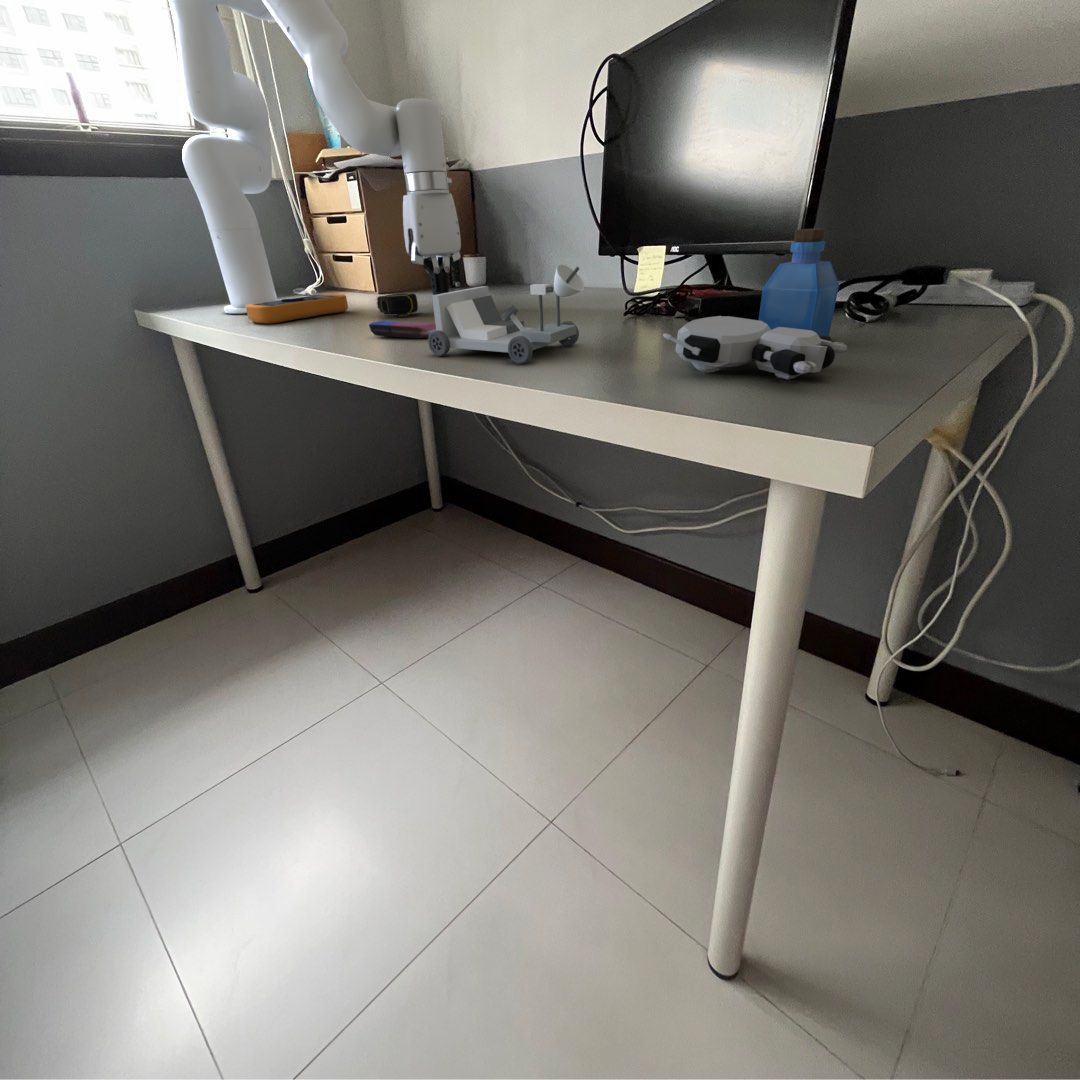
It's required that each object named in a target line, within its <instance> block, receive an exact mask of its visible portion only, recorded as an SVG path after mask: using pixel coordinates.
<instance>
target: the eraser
mask: <svg viewBox="0 0 1080 1080" xmlns="http://www.w3.org/2000/svg"><path fill="white" fill-rule="evenodd" d="M368 326H369V327H368V328H369V330H370V332H371V333H372V334H373V335H374V336H379V337H393V338H410V339H428V338H429V335H430V334H431V333H432V332H433V331H436V324H435V322H421V321H419V322H418V321H417V322H416V321H401V320H400V321H399V320H378V321H373V322H370V323H369V324H368Z"/></svg>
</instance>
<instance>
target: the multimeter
mask: <svg viewBox="0 0 1080 1080" xmlns="http://www.w3.org/2000/svg"><path fill="white" fill-rule="evenodd" d="M347 298H348V297H347V295H346V294H343V293H332V292H331V293H328V292H324V293H320V294H316V295H309V296H308V295H307V296H301V297H294V298H282V299H279V300H278V299H277V300H278V301H271V302H263V303H256V304H248V305H246V306H245V307H246V310H247V313H246V314H247V318H248V319H249V321H251V322H253V323H256V324H265V325H273V324H281V323H285V322H292V321H296V320H301V319H306V318H313V317H318V316H326V315H332V314H339V313H341V314H342V313H345V312H347V310H348V309H349V305H348V299H347Z"/></svg>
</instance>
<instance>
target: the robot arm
mask: <svg viewBox="0 0 1080 1080" xmlns="http://www.w3.org/2000/svg"><path fill="white" fill-rule="evenodd" d="M168 2H169V6H170V7H169V8H170V10H171V15H172V19H173V23H174V31H175V33H174V34H175V38H176V39H175V41H176V43H175V44H176V49H177V58H178V66H179V73H180V80H181V88H182V94H183V95H182V96H183V99H184V100H183V101H184V103H185V106H186V109H187V111H188V113H189V114H190V115H191V117H192V118H193V119H195V120H196V121H197V122H198V123H200V124H203V125H205V126H208V127H212V128H218V129H223V130H227V136H228V137H227V136H221V135H214V134H213V135H212V134H198V135H194V136H191V137H190V138H189V139H188V140H186V142H185V143H184V145H183V148H182V163H183V167H184V170H185V172H186V175H187V177H188V179H189V181H190V184H191V186H192V188H193V190H194V192H195V194H196V196H197V198H198V201H199V204H200V206H201V210H202V212H203V215H204V218H205V223H206V226H207V228H208V231H209V234H210V238H211V241H212V244H213V245H212V246H213V248H214V252H215V255H216V259H217V262H218V266H219V269H220V272H221V275H222V279H223V282H224V286H225V289H226V293H227V296H228V300H229V303H230V304H229V305H225V306H224V307H223V310H224V313H226V314H230V315H231V314H233V315H235V314H237V315H238V314H239V315H241V314H247V310H246V307H245V306H246V305H248V304H256V303H263V302H271V301H278V297H277V292H276V289H275V285H274V281H273V277H272V273H271V272H272V271H271V269H270V265H269V261H268V257H267V253H266V249H265V245H264V242H263V241H264V240H263V237H262V233H261V230H260V226H259V222H258V218H257V216H256V213H255V211H254V208H253V207H252V205H251V203H250V201H249V200H248V198H247V196H246V195H255V194H261V193H264V192H265V191H266V190H267V189H268V188H269V186H270V185H271V181H272V175H273V163H272V162H273V161H272V146H271V132H270V131H271V130H270V129H271V128H270V117H269V110H268V106H267V103H266V99H265V97H264V94H263V93H262V91H261V89H260V87H259V86H258V85H257V83H256V82H254V81H253V80H252V78H250V77H249V76H247V75H245V74H243V73H241V72H238V71H234V70H233V64H232V58H231V45H230V44H231V43H230V40H229V39H230V38H229V36H228V33H227V29H226V27H225V23H224V22H223V19H222V17H221V15H220V13H219V11H218V9H217V6H218V5H222V6H223V7H227V8H229V9H231V10H233V11H236V12H239V13H242V14H244V15H246V16H249V17H252V18H255V19H258V20H261V21H265V22H266V21H267V22H270V23H271V22H272V23H277V24H278V26H279V27H280V29H281V30H282V32H283V33H284V35H285V36H286V37H287V39H288V40H289V41H290V43H291V44H292V46H293V48H294V49H295V51H296V52H297V53H298V54H299V56H300V57H301V59H302V60H303V62H304V63H305V65H306V67H307V72H308V78H309V82H310V85H311V88H312V91H313V94H314V97H315V99H316V101H317V103H318V105H319V107H320V108H321V110H322V111H323V113H324V114H325V115H326V117H327V119H328V120H329V122H330V123H331V124H332V126H333V128H334V129H335V130H336V132H337V133H338V134H339V135H340V137H341V138H342V139H343V140H344V142H346V144H348V145H349V146H350V147H351V148H353V149H354V150H356V151H357V152H360V153H363V154H370V155H377V156H382V157H388V158H394V157H399V156H401V161H402V166H403V173H404V174H403V175H404V180H405V188H406V194H405V195H403V197H402V226H403V237H404V244H405V245H404V246H405V251H406V253H407V255H409V256H410V261H411V263H412V264H415V265H419V266H422V268H424V270H425V271H426V273H427V274H429V279H430V286H431V291H432V295H437V294H443V293H448V292H450V286H449V276H448V273H450V269H451V266H452V264H453V262H456V261H458V260H460V259H461V253H460V251H461V249H462V239H461V231H460V225H459V218H458V214H457V209H456V205H455V201H454V197H453V194H452V193H450V190H449V189H450V188H449V187H452V186H453V181H452V178H451V177H448V172H447V171H448V170H447V163H446V161H447V160H446V152H445V144H444V137H443V136H444V135H443V127H442V118H441V110H440V107H439V105H438V103H437V102H435V100H433V99H430V98H426V97H413V98H405V99H402V100H400V101H399V102H397V104H396V106H391V105H389V104H388V105H387V104H384V103H381V102H378V101H374V100H371V99H368V98H367V97H366V96H365V94H364V93H363V92H362V90H361V89H360V87H359V86H358V84H357V83H356V81H355V80H354V79H353V77H352V75H351V74H350V73H349V70H348V69H347V67H346V65H345V63H344V61H343V60H344V58H345V56H346V54H347V52H348V49H349V38H348V35H347V32H346V31H345V29H344V27H343V26H342V25H341V24H340V22H339V21H338V19H337V17H336V15H335V14H334V13H333V8H334V1H333V0H168Z"/></svg>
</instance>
